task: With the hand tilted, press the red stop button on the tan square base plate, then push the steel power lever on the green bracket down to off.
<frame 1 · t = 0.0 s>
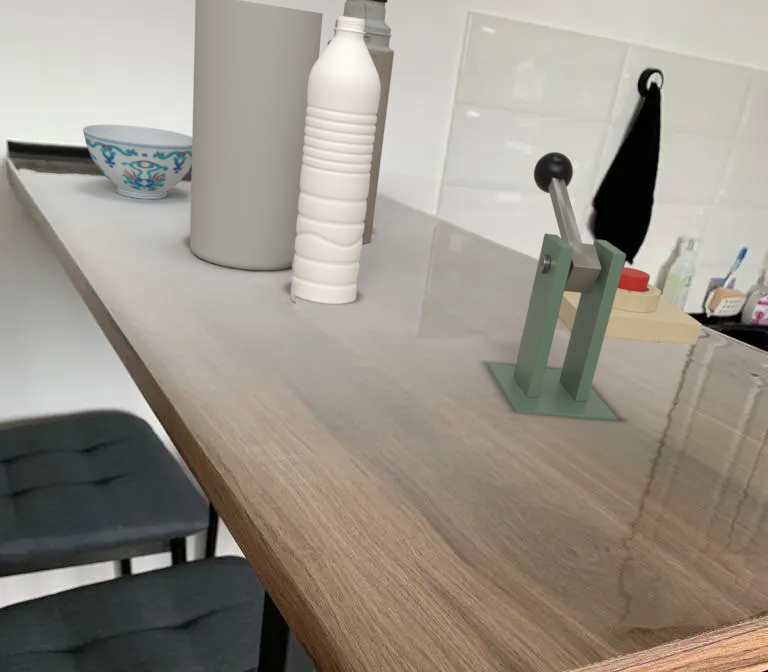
switch bracket: (545, 402, 70), on the table
stop button: (628, 280, 89), point 5 cm above the table, slide at 0.1 cm
water bottle: (322, 301, 87), on the table
tan square base plate: (614, 331, 91), on the table
power lever: (565, 217, 68), point 14 cm above the table, hinge at 25.0°
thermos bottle: (340, 238, 114), on the table
cylinder vase: (246, 258, 98), on the table
chinaware: (141, 195, 120), on the table
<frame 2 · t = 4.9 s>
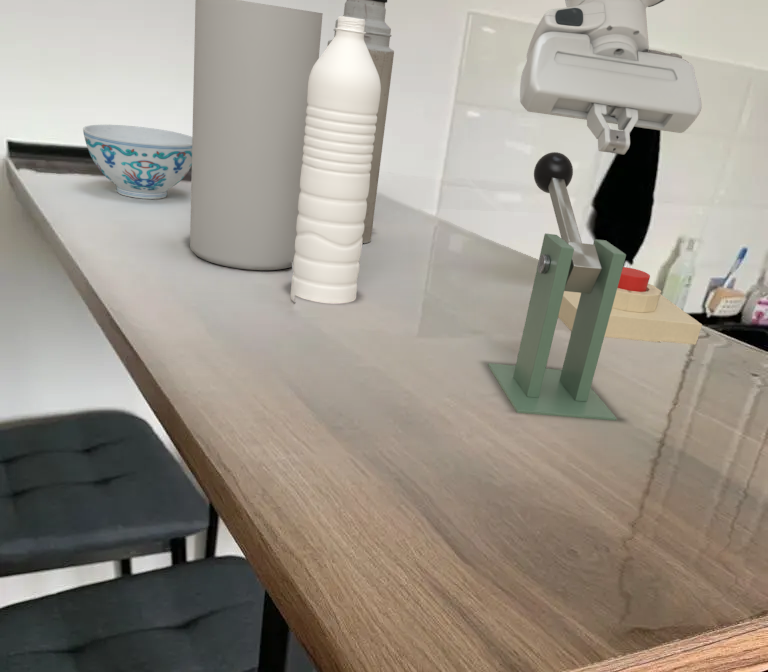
hand: (614, 149, 94), 16 cm above the table, tool tilted 45°, fingers closed
nothing on the table moved.
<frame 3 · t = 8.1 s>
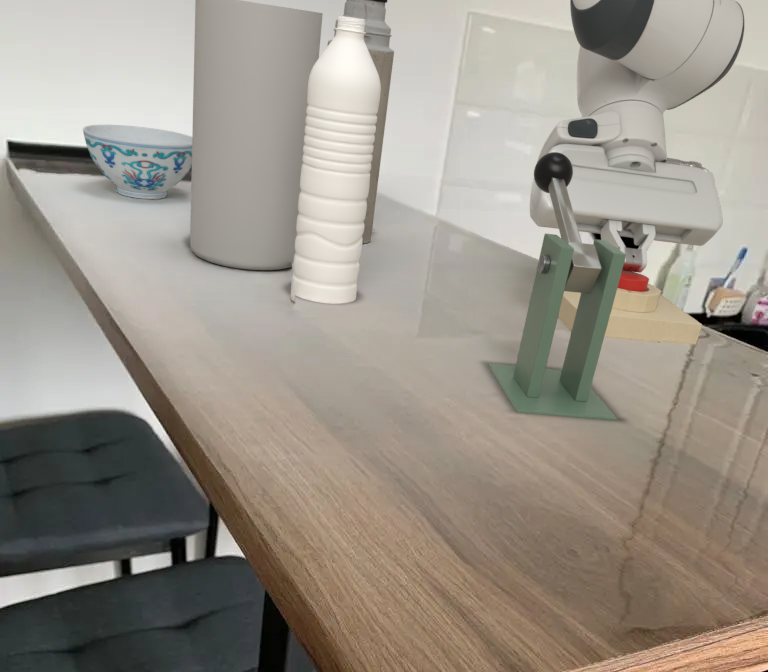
hand: (630, 268, 88), 7 cm above the table, tool tilted 45°, fingers closed, pressing on stop button
stop button: (627, 283, 89), point 5 cm above the table, slide at -0.2 cm, touching gripper
everything else where it was.
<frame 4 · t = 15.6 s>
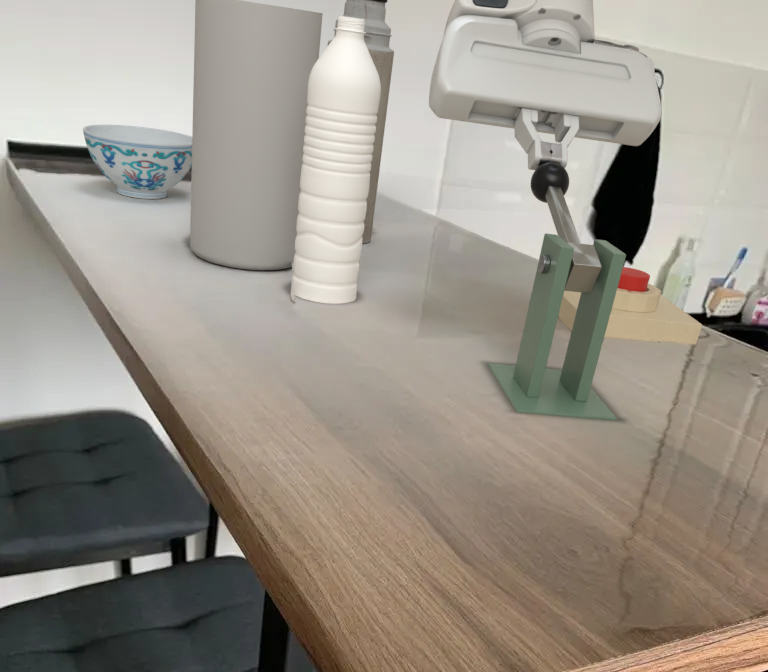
hand: (547, 167, 73), 16 cm above the table, tool tilted 45°, fingers closed, pressing on power lever
stop button: (628, 280, 89), point 5 cm above the table, slide at 0.1 cm
power lever: (563, 222, 69), point 13 cm above the table, hinge at 20.6°, touching gripper
everything else where it was.
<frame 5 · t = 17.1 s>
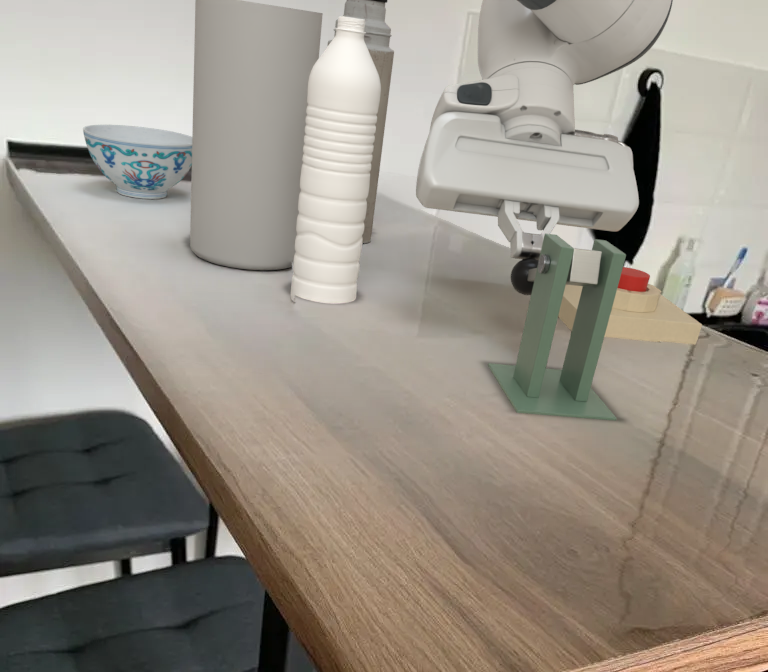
hand: (529, 256, 76), 9 cm above the table, tool tilted 45°, fingers closed, pressing on power lever
power lever: (551, 272, 71), point 9 cm above the table, hinge at -18.3°, touching gripper
everything else where it was.
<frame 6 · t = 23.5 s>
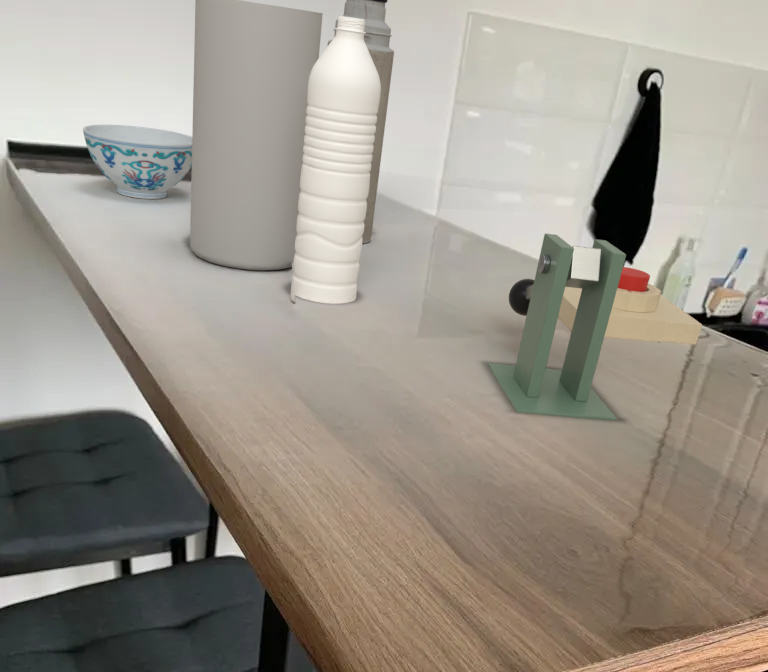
power lever: (550, 284, 71), point 8 cm above the table, hinge at -26.8°
everything else where it was.
at the end: stop button pushed in 1.3 cm at the most during the clip, back to where it started at the end; stop button slide at 0.1 cm; power lever at -27° (first picture: +25°) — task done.
